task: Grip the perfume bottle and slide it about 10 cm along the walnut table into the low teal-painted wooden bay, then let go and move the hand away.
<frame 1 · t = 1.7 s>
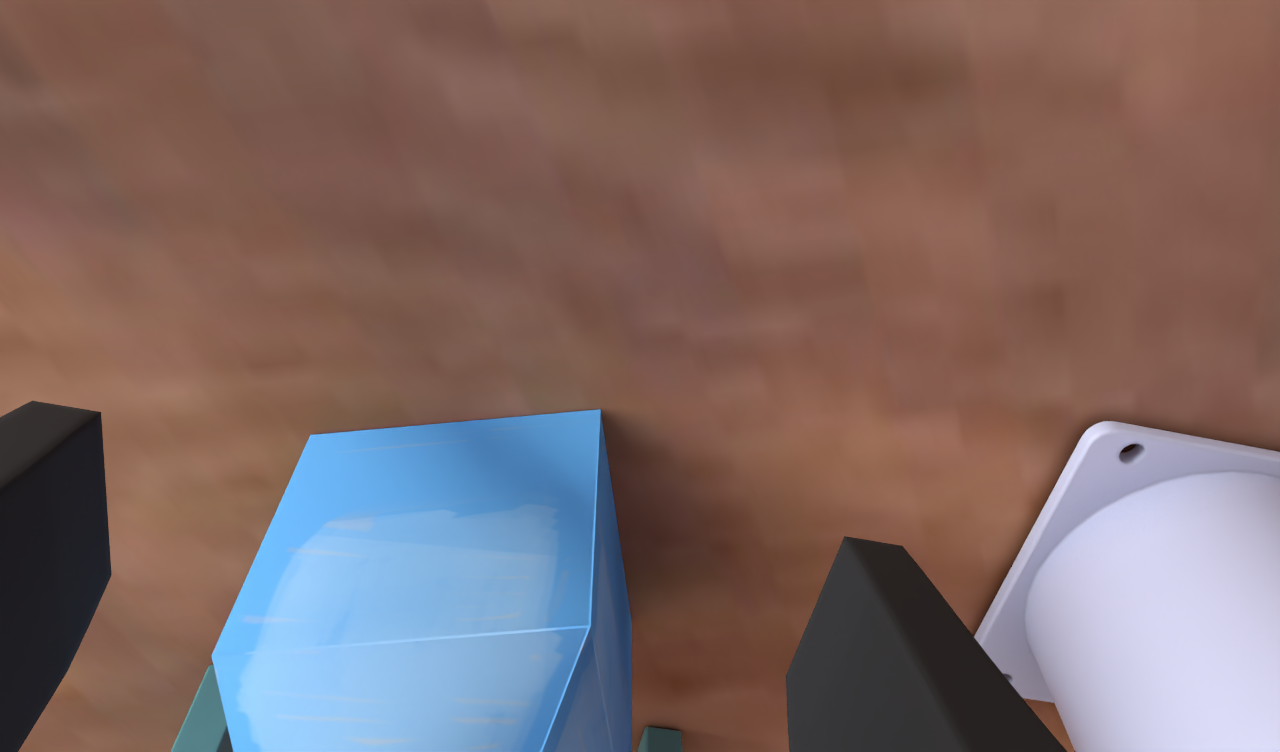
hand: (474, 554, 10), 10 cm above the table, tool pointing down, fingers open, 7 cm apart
perfume bottle: (482, 528, 24), on the table
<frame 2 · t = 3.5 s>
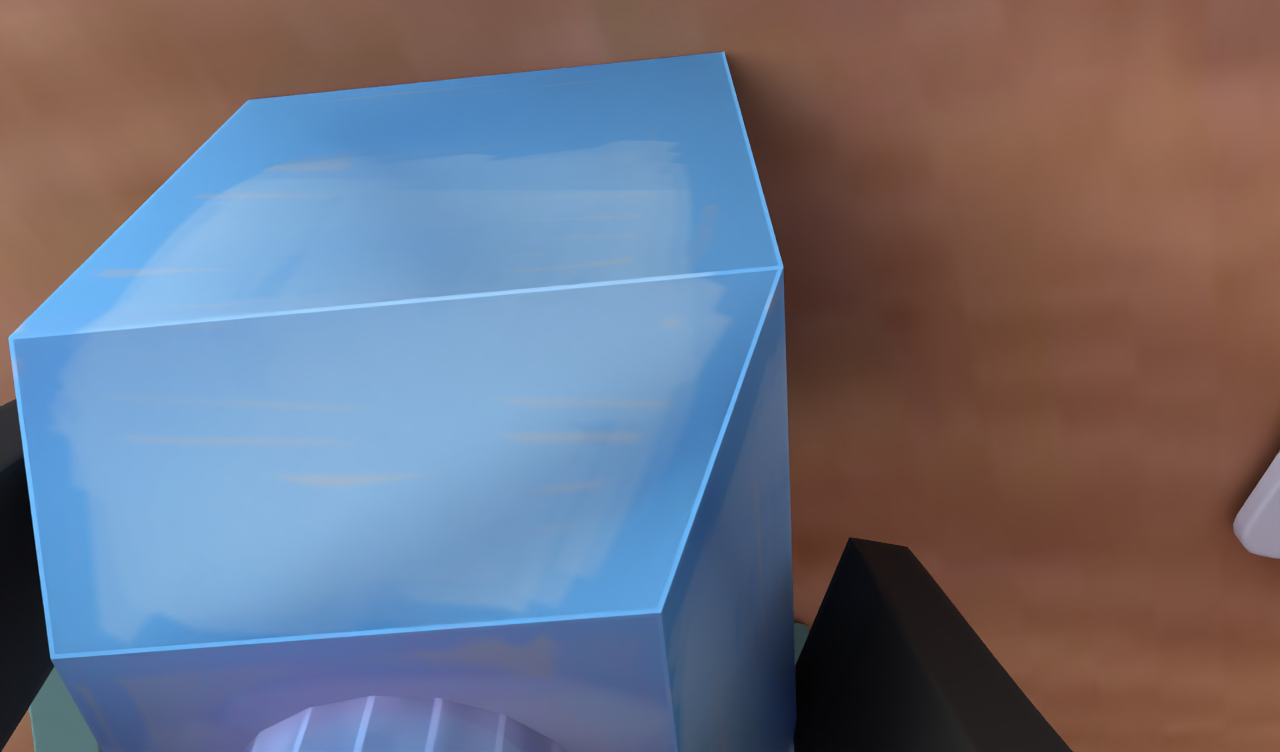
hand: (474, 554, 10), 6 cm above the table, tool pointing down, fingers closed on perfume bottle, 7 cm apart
perfume bottle: (522, 283, 15), on the table, touching gripper
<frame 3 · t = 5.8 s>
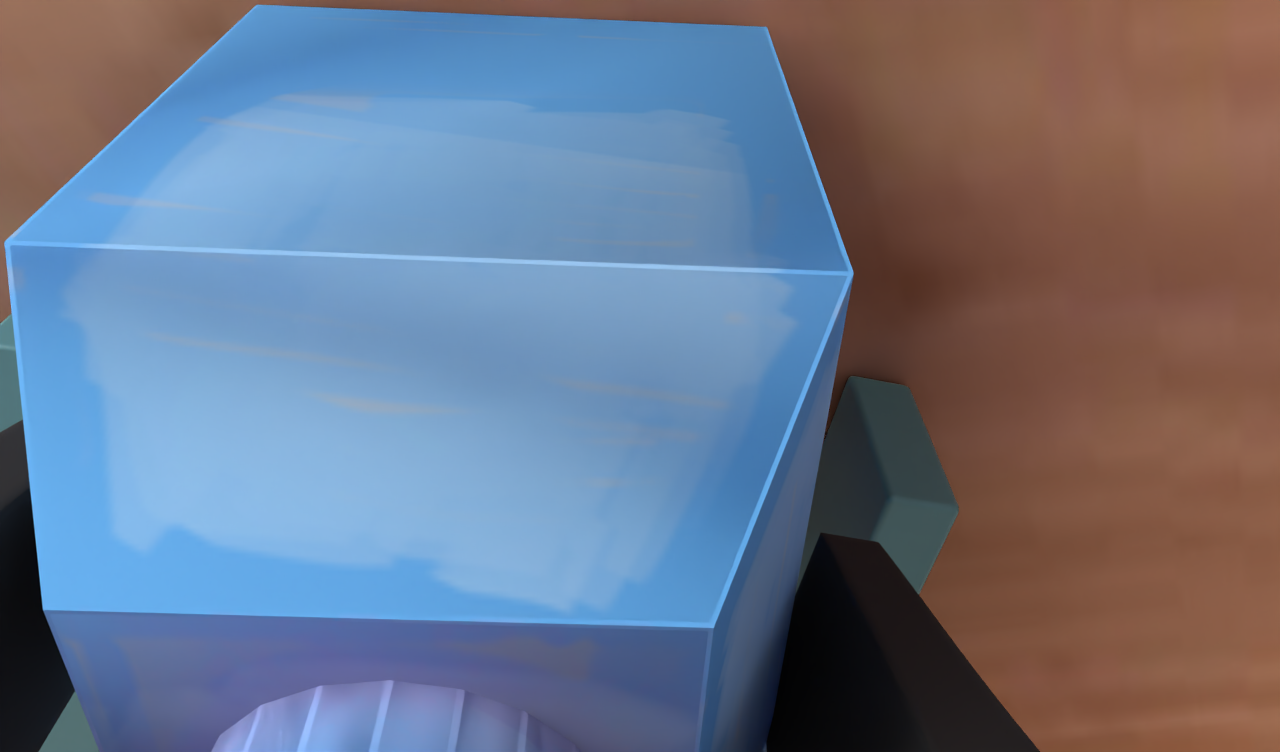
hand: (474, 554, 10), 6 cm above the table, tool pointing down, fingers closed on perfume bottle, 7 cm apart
bay: (475, 564, 18), on the table
perfume bottle: (520, 236, 15), on the table, touching gripper
when the fingers open (6 cm above the table, at t = 8.2 s): perfume bottle stays where it is, on the table.
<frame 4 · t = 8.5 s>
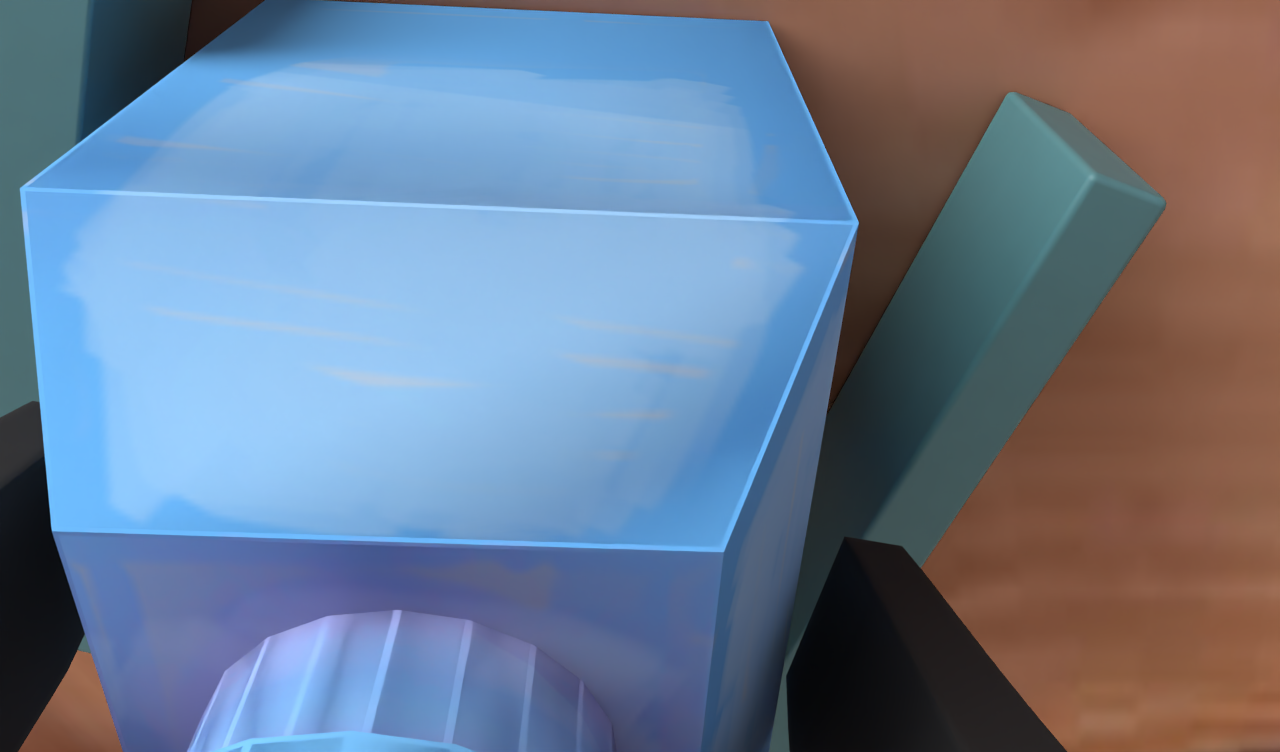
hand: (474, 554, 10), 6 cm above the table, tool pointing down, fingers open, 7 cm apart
bay: (523, 292, 15), on the table
perfume bottle: (524, 232, 15), on the table
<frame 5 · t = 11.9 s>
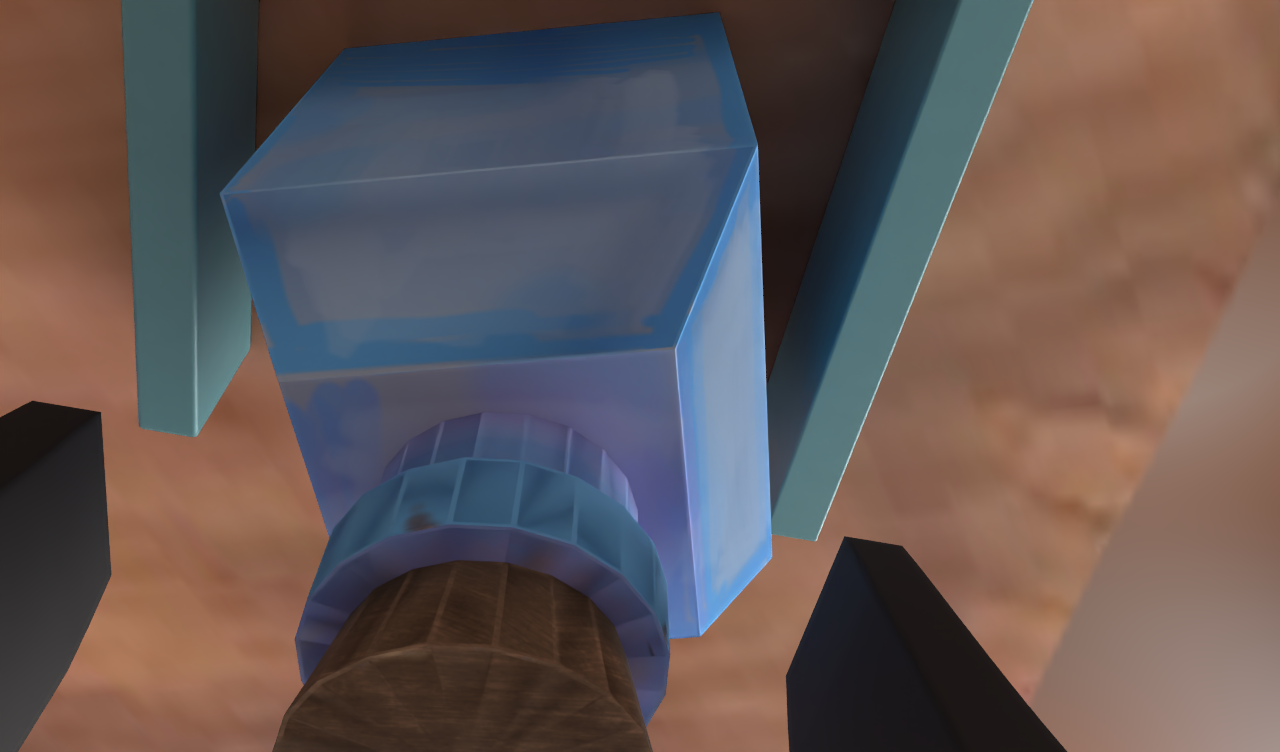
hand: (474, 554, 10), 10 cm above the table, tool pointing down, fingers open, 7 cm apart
bay: (549, 161, 18), on the table
perfume bottle: (556, 201, 19), on the table
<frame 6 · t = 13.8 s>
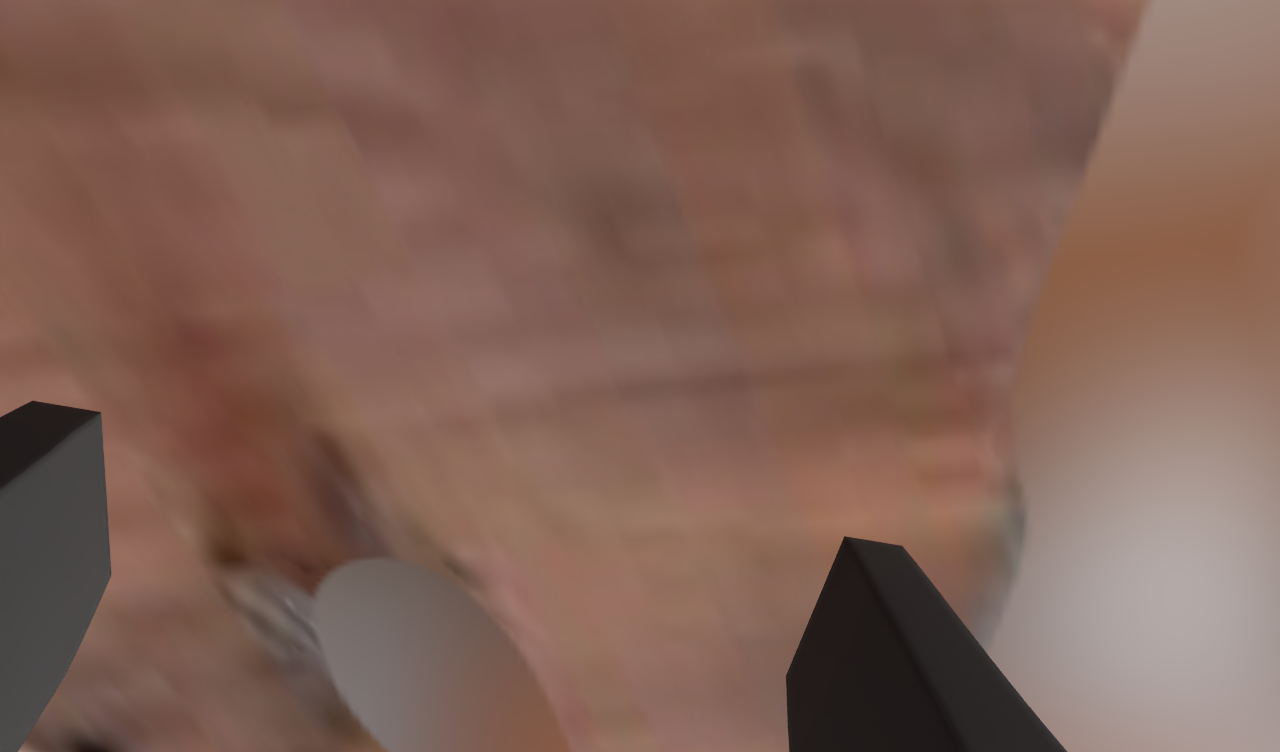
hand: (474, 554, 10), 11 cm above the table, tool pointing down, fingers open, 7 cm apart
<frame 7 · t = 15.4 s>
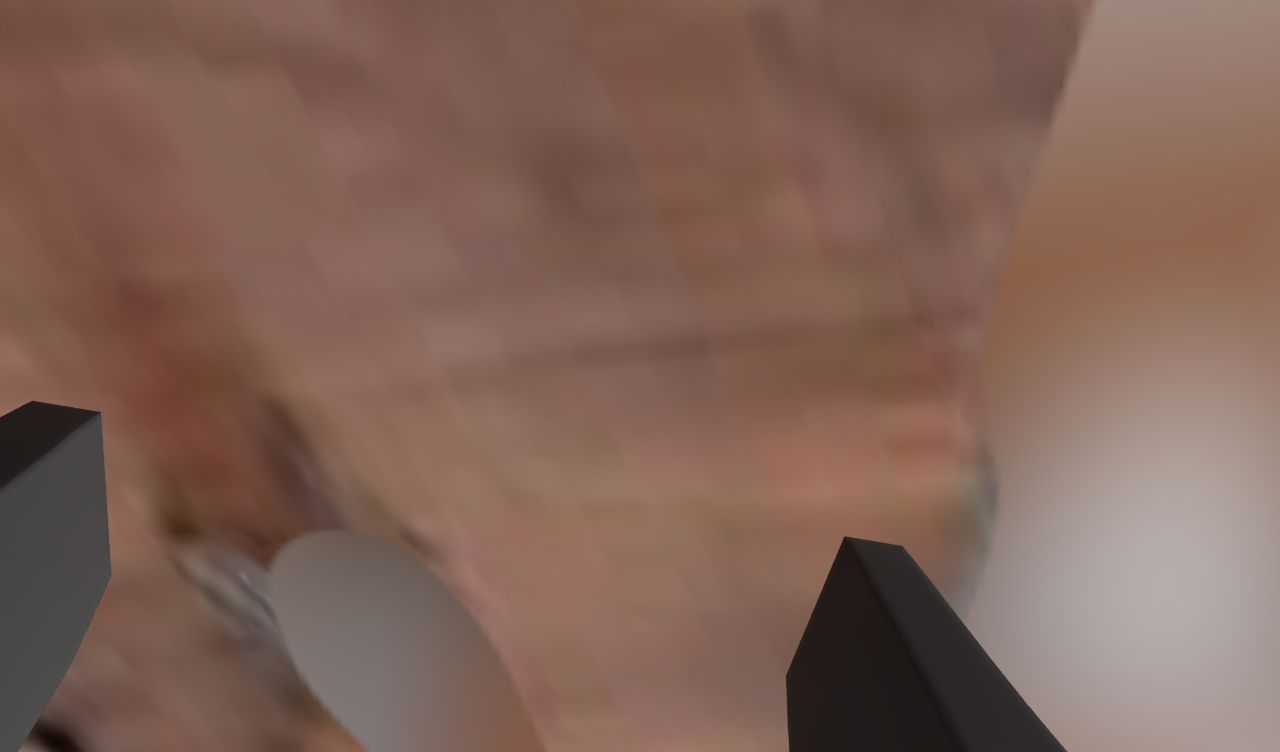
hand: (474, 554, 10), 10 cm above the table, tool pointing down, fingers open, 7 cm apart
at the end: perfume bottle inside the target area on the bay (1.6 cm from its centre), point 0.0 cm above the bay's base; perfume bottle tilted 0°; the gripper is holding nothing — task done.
